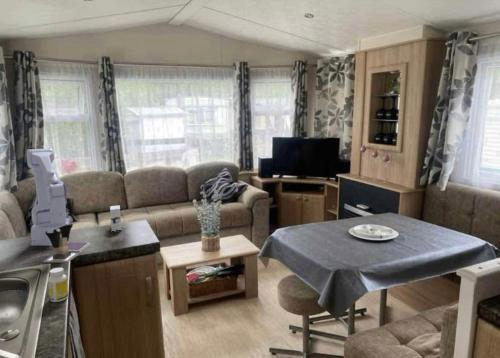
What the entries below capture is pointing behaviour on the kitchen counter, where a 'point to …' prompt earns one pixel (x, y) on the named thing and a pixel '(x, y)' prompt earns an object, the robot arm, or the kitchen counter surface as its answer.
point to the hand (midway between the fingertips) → (60, 244)
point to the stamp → (62, 249)
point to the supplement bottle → (57, 285)
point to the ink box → (115, 218)
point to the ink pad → (77, 246)
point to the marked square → (62, 259)
